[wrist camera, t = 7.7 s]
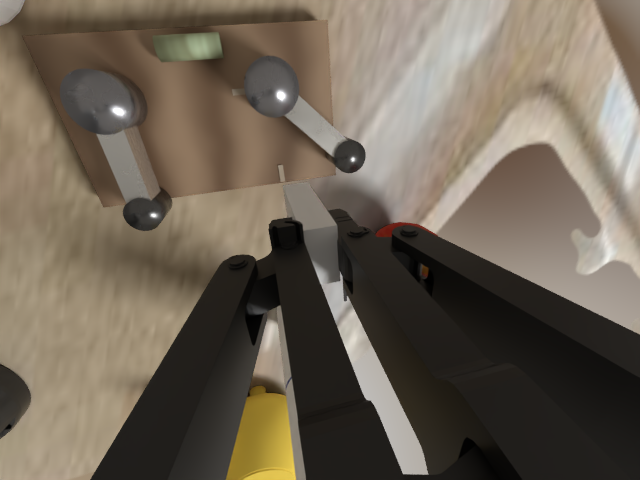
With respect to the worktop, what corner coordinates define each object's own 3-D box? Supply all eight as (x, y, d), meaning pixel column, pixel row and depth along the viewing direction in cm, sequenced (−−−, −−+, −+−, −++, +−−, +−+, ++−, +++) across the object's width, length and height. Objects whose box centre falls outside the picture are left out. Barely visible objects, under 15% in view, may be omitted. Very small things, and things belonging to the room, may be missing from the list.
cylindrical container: (274, 293, 39) (303, 535, 18) (324, 286, 41) (406, 504, 19) (278, 330, 43) (305, 573, 21) (323, 323, 44) (394, 544, 22)
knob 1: (78, 74, 23) (46, 71, 19) (136, 70, 23) (116, 66, 20) (138, 217, 29) (122, 234, 25) (183, 211, 29) (174, 226, 26)
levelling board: (112, 200, 30) (94, 213, 26) (39, 40, 23) (3, 30, 20) (331, 171, 33) (340, 179, 30) (322, 24, 27) (332, 14, 23)
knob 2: (235, 92, 26) (233, 91, 22) (263, 49, 25) (265, 41, 21) (336, 175, 31) (346, 184, 28) (362, 142, 30) (376, 148, 27)
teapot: (172, 416, 46) (144, 527, 34) (228, 356, 43) (220, 457, 31) (268, 441, 55) (273, 537, 43) (321, 394, 52) (342, 483, 40)
